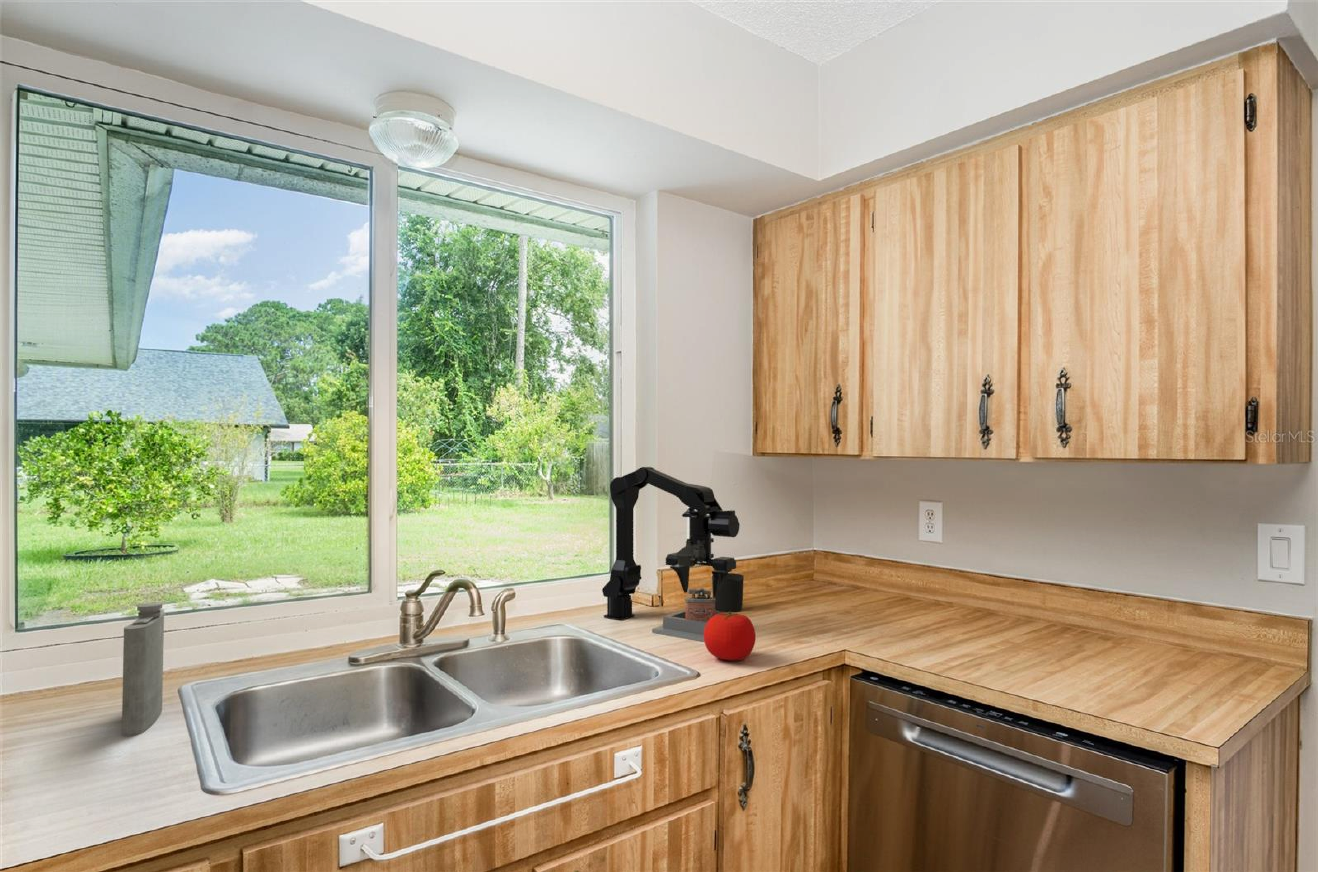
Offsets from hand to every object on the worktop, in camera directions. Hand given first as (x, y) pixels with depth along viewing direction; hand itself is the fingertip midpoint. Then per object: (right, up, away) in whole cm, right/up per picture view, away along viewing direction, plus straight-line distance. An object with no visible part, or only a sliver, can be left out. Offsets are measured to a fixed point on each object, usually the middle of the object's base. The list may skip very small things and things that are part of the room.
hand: (700, 594), depth 188 cm
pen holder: (+10, -10, +26) cm, 30 cm away
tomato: (+5, -9, -26) cm, 28 cm away
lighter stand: (0, -9, 0) cm, 9 cm away
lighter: (0, -9, 0) cm, 9 cm away
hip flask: (-100, -8, -63) cm, 119 cm away
